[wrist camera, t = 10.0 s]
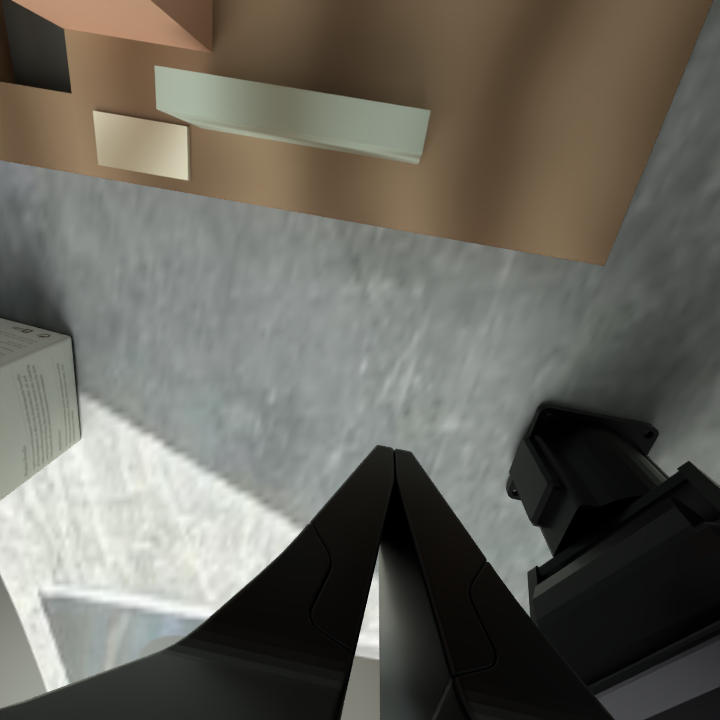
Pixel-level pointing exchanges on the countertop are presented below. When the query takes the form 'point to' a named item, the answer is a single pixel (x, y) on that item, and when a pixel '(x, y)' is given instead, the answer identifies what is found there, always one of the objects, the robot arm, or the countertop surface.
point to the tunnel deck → (370, 111)
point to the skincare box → (34, 401)
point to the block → (134, 19)
